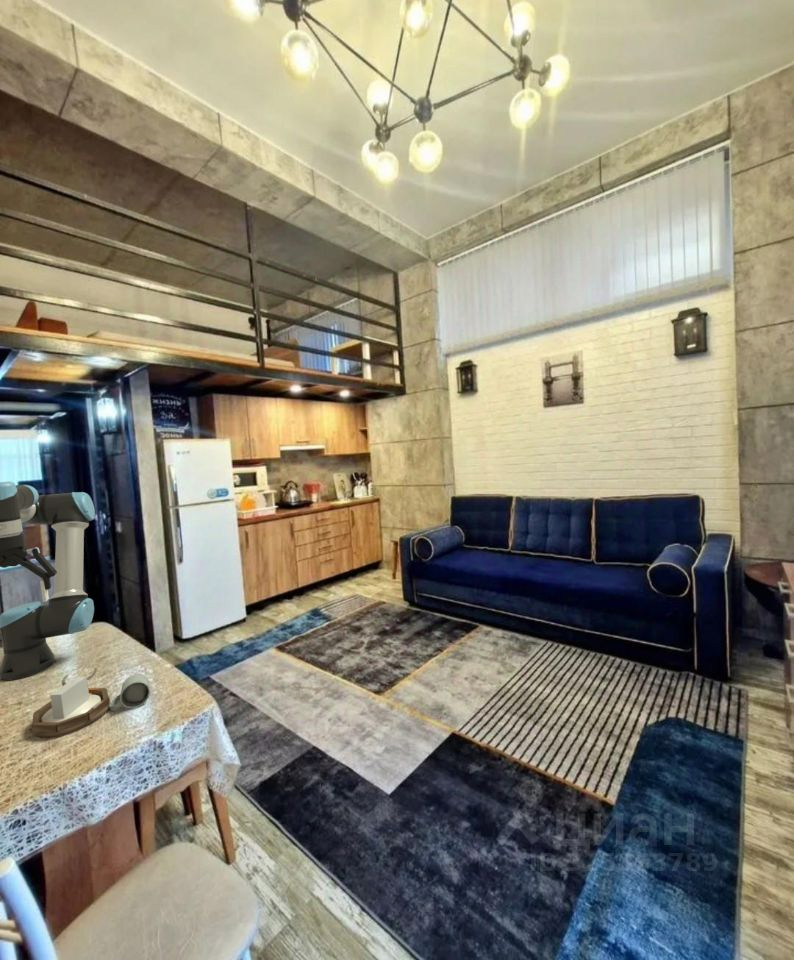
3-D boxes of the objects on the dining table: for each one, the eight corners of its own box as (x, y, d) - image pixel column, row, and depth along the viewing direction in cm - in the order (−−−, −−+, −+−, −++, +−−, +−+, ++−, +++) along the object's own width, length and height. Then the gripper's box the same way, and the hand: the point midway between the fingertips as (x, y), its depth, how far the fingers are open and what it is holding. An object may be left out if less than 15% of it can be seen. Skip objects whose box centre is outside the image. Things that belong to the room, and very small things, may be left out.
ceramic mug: (150, 690, 134) (147, 667, 133) (151, 702, 127) (148, 678, 126) (110, 703, 128) (106, 679, 128) (109, 717, 122) (105, 692, 121)
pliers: (96, 665, 152) (97, 689, 136) (97, 667, 152) (97, 691, 136) (62, 675, 146) (59, 701, 130) (62, 677, 146) (59, 704, 130)
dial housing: (34, 716, 124) (32, 704, 124) (107, 691, 135) (106, 679, 135) (30, 748, 110) (28, 734, 110) (113, 717, 121) (111, 704, 121)
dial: (75, 727, 115) (71, 699, 115) (28, 728, 116) (24, 700, 115) (112, 697, 129) (108, 671, 128) (69, 698, 130) (66, 673, 129)
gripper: (-60, 544, 114) (-46, 619, 117) (55, 531, 125) (65, 600, 127) (-46, 539, 121) (-33, 610, 123) (62, 526, 132) (72, 592, 134)
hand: (17, 605), depth 125 cm, fingers open, 13 cm apart
